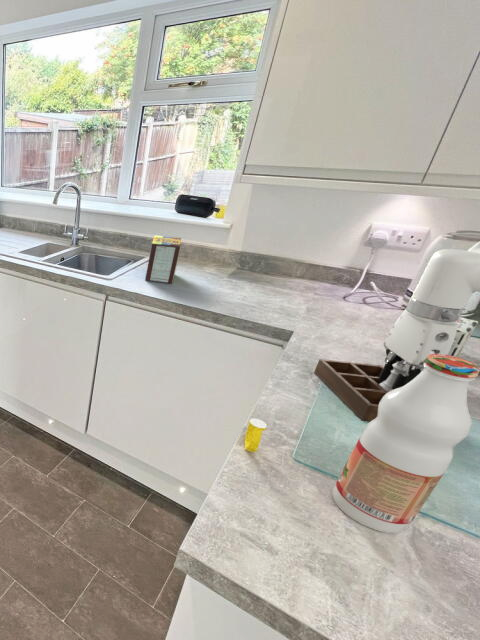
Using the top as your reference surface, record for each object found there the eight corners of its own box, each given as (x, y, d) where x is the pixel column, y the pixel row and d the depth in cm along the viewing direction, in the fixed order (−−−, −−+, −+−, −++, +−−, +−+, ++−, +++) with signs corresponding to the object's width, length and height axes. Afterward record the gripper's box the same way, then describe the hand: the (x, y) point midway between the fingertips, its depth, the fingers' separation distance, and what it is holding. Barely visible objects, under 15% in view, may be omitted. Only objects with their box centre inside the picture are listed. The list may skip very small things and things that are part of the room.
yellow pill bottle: (240, 435, 83) (248, 411, 81) (256, 440, 82) (265, 416, 80) (241, 454, 79) (250, 429, 76) (258, 459, 78) (268, 434, 75)
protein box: (173, 273, 177) (181, 237, 171) (172, 284, 165) (181, 246, 158) (147, 269, 181) (154, 234, 175) (144, 280, 169) (151, 243, 162)
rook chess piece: (386, 387, 96) (401, 357, 93) (407, 398, 92) (424, 368, 89) (370, 389, 96) (385, 359, 92) (391, 400, 92) (407, 370, 88)
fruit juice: (354, 530, 64) (443, 377, 52) (318, 483, 72) (388, 342, 60) (424, 540, 62) (532, 384, 51) (379, 491, 71) (463, 348, 59)
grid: (374, 379, 103) (382, 365, 101) (437, 430, 85) (447, 414, 84) (313, 372, 105) (319, 358, 104) (361, 421, 88) (369, 405, 86)
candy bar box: (418, 372, 106) (449, 313, 99) (445, 381, 102) (480, 321, 95) (403, 384, 101) (435, 324, 94) (431, 395, 97) (468, 332, 90)
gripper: (491, 329, 77) (442, 409, 85) (424, 297, 92) (387, 368, 99) (443, 325, 79) (399, 404, 86) (384, 294, 93) (351, 364, 101)
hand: (393, 384), depth 93 cm, fingers closed on rook chess piece, 3 cm apart
